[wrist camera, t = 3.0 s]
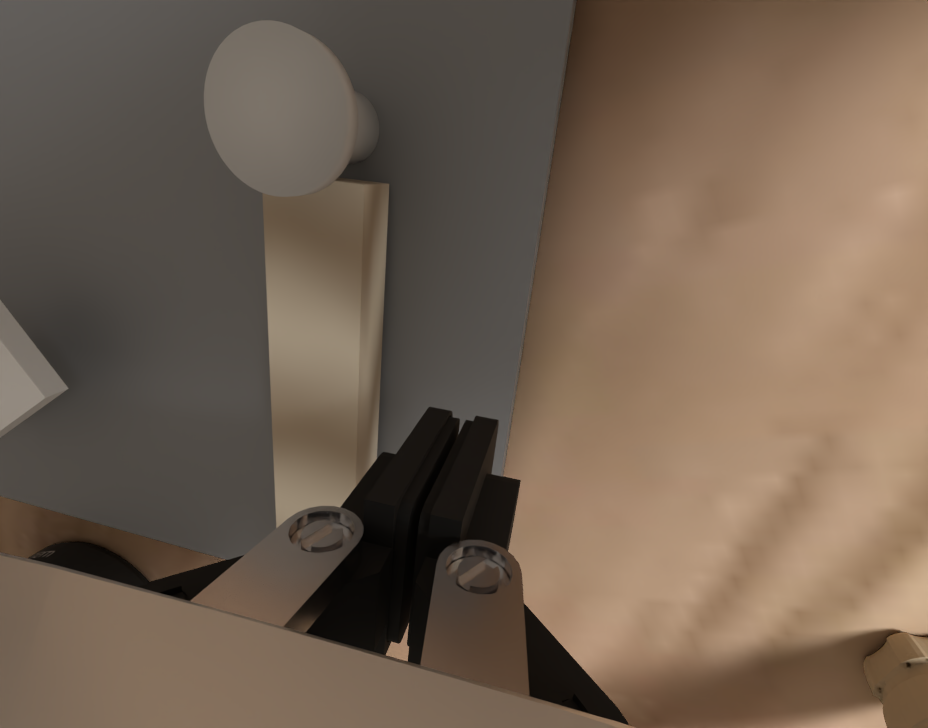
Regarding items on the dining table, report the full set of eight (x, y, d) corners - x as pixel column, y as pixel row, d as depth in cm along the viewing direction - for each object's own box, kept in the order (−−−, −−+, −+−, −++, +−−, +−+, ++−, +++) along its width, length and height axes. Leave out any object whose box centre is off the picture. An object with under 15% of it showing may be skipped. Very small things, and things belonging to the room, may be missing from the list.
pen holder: (179, 565, 25) (-56, 786, 16) (185, 691, 29) (-6, 930, 20) (22, 508, 27) (-277, 682, 17) (45, 634, 30) (-193, 834, 21)
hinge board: (-127, -82, 17) (-371, -168, 13) (585, -62, 13) (581, -181, 9) (20, 484, 26) (-96, 547, 21) (482, 611, 21) (453, 722, 17)
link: (296, 172, 16) (261, 172, 14) (389, 183, 15) (363, 184, 13) (303, 550, 21) (278, 582, 19) (371, 568, 20) (352, 603, 19)
